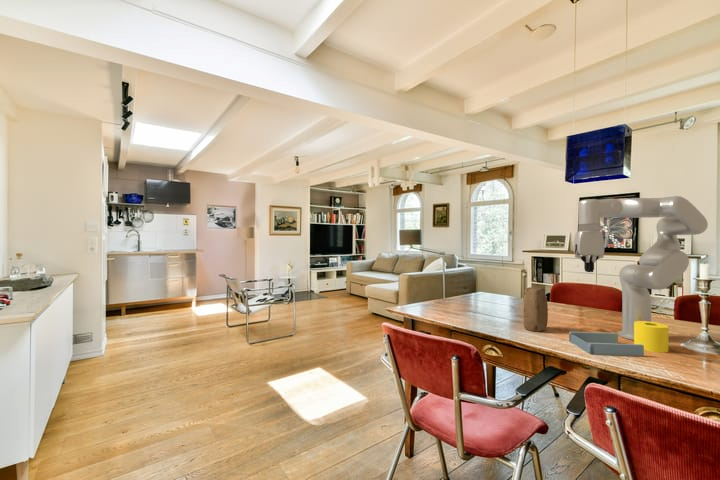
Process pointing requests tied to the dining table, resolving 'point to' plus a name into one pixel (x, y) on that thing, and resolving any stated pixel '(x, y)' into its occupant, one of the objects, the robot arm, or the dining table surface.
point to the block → (535, 309)
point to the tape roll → (651, 336)
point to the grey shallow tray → (604, 344)
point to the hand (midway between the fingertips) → (589, 271)
